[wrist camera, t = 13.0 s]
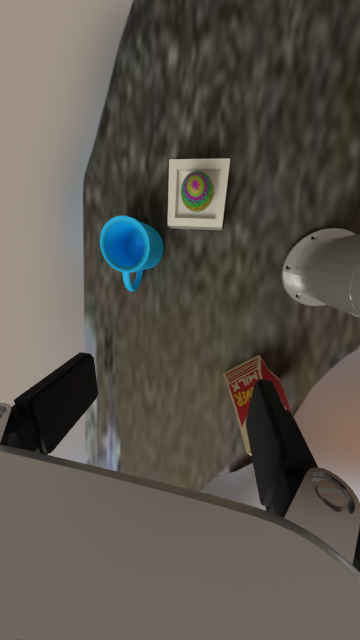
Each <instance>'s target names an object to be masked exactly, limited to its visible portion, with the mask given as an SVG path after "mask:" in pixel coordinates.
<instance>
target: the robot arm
mask: <svg viewBox="0 0 360 640" xmlns="http://www.w3.org/2000/svg"><path fill="white" fill-rule="evenodd" d="M311 237H313V239H312V240H311ZM286 266H288V268H287V269H286ZM281 281H282V284H283V287H284V289H285V291H286V292H287V294H288V295H289V296H290V297H291V298H293V299H294V300H296V301H298V302H300V303H302V304H305V305H309V306H324V305H330V306H332V307H335V308H337V309H339V310H342V311H344V312H346V313H349V314H351V315H353V316H356V317H358V318H360V234H357V235H356V234H354V233H353V232H351V231H348V230H346V229H340V228H328V229H323V230H319V231H316V232H313V233H311V234H309V235H307V236H305V237H303V238H302V239H301V240H299V241H298V242H297V243H296V244H295V245H294V246H293V247H292V248H291V249H290V251H289V252H288V254H287V255H286V257H285V259H284V261H283V265H282V268H281ZM297 294H298V295H297ZM296 295H297V296H296ZM97 395H98V390H97V381H96V373H95V364H94V358H93V357H92V355H91V354H88V353H79V354H77V355H76V356H74V357H73V358H72V359H70V360H69V361H67V362H66V363H65V364H64V365H62V366H60V367H59V368H58V369H56V370H55V371H54V372H52V373H51V374H49V375H48V376H47V377H45V378H44V379H42V380H41V381H40V382H38V383H37V384H35V385H34V386H33V387H31V388H30V389H29V390H27V391H26V392H25V393H23V394H22V395H20V396H19V397H17V398H16V399H15V400H14V402H15V405H14V406H13V407H11V406H10V405H9V404H5V403H0V640H360V502H359V500H358V498H357V496H356V495H355V493H354V492H353V490H352V489H351V488H350V487H349V486H348V485H347V484H346V483H345V482H344V481H343V480H342V479H341V478H339V477H338V476H337V475H335V474H333V473H332V472H330V471H328V470H326V469H323V468H318V466H317V464H316V462H315V460H314V458H313V456H312V454H311V452H310V450H309V448H308V446H307V444H306V442H305V440H304V438H303V436H302V434H301V432H300V429H299V428H298V425H297V423H296V422H295V419H294V417H293V415H292V414H291V412H290V411H289V410H285V408H284V406H283V404H282V402H281V399H280V397H279V395H278V393H277V391H276V389H275V386H274V384H273V382H272V381H271V380H264V379H259V381H255V384H254V388H253V392H252V397H251V401H250V405H249V410H248V414H247V418H246V429H247V434H248V439H249V445H250V450H251V455H252V460H253V466H254V470H255V476H256V482H257V487H258V492H259V497H260V502H261V504H262V505H264V506H266V511H265V510H262V509H259V508H256V507H252V506H249V505H246V504H242V503H239V502H235V501H231V500H228V499H224V498H220V497H216V496H213V495H209V494H205V493H201V492H197V491H193V490H189V489H185V488H181V487H177V486H173V485H169V484H165V483H161V482H157V481H153V480H149V479H145V478H141V477H137V476H133V475H129V474H125V473H120V472H116V471H112V470H108V469H104V468H100V467H96V466H92V465H87V464H83V463H79V462H74V461H70V460H66V459H62V458H57V457H53V456H49V455H47V454H48V453H51V452H52V451H53V450H54V449H55V448H56V446H57V445H58V444H59V443H60V442H61V440H62V439H63V438H64V437H65V436H66V434H67V433H68V432H69V430H70V429H71V428H72V427H73V426H74V425H75V423H76V422H77V421H78V420H79V419H80V417H81V416H82V415H83V414H84V413H85V411H86V410H87V409H88V408H89V407H90V405H91V404H92V403H93V402H94V400H95V399H96V398H97Z"/></svg>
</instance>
